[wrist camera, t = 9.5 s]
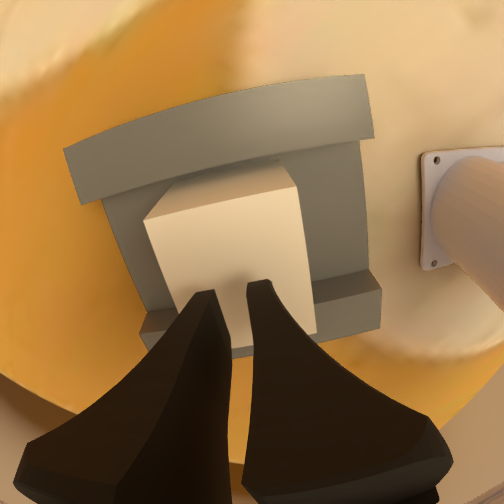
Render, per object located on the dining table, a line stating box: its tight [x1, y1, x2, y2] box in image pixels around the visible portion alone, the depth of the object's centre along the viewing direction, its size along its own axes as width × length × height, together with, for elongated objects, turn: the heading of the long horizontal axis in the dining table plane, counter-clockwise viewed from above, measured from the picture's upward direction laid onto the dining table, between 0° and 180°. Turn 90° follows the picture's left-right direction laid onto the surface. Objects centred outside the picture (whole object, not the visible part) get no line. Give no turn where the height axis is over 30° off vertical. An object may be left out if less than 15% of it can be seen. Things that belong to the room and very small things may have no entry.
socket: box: [63, 74, 382, 359], centre depth 15 cm, size 13×13×4 cm
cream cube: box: [143, 159, 317, 348], centre depth 14 cm, size 5×6×6 cm
